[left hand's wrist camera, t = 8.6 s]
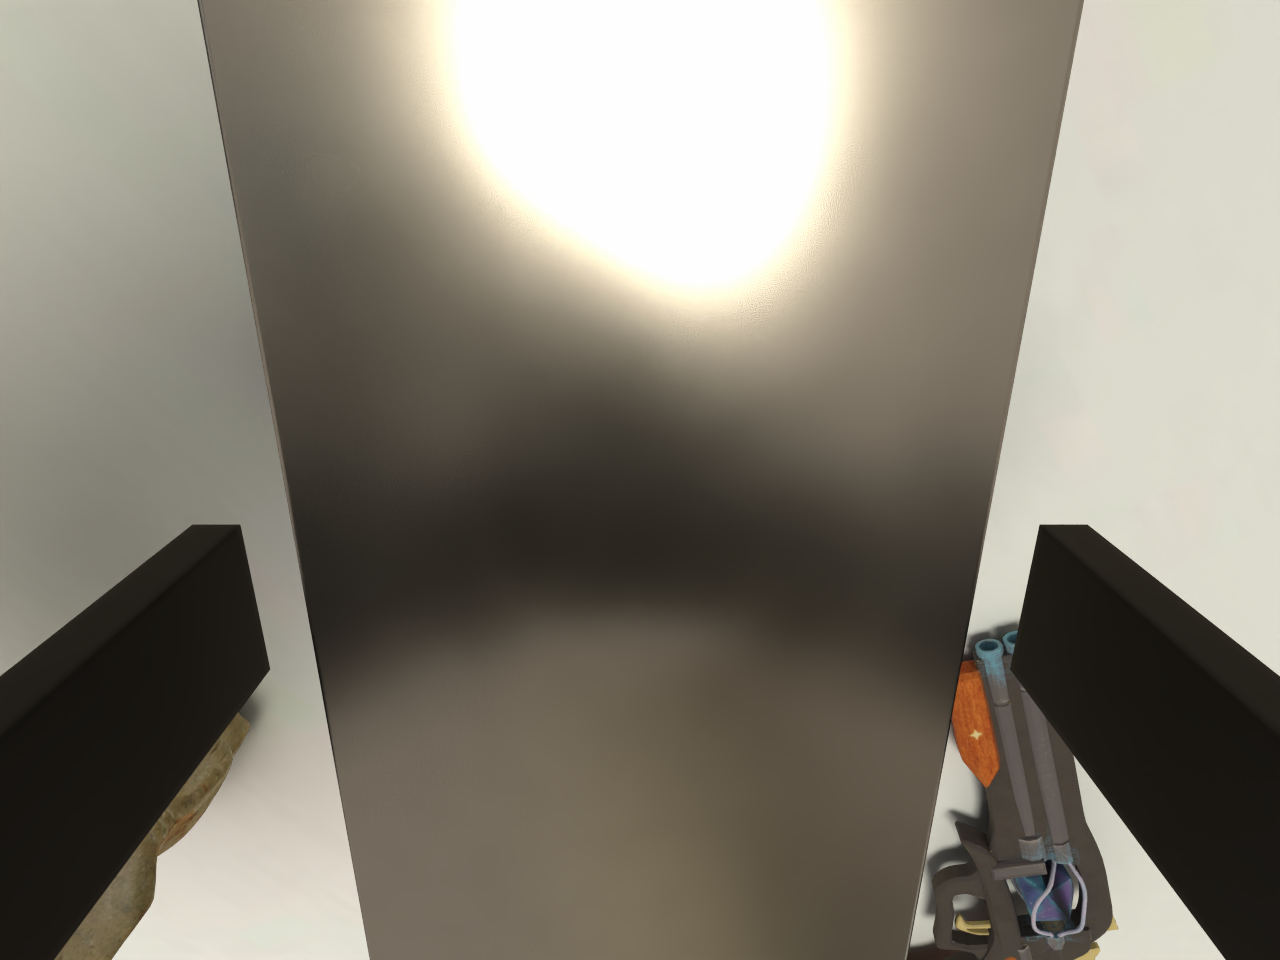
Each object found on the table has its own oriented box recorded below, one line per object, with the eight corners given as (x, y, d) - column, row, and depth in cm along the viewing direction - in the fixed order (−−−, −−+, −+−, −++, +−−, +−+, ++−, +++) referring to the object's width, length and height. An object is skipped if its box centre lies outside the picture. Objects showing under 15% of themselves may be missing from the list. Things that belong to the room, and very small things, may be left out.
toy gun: (897, 1071, 33) (1152, 1052, 31) (786, 703, 28) (1084, 647, 26) (887, 1009, 36) (1122, 988, 34) (783, 661, 31) (1054, 608, 28)
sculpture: (52, 718, 30) (-472, 1207, 16) (185, 625, 28) (-263, 1073, 14) (168, 816, 31) (-211, 1333, 17) (299, 733, 30) (0, 1227, 16)
